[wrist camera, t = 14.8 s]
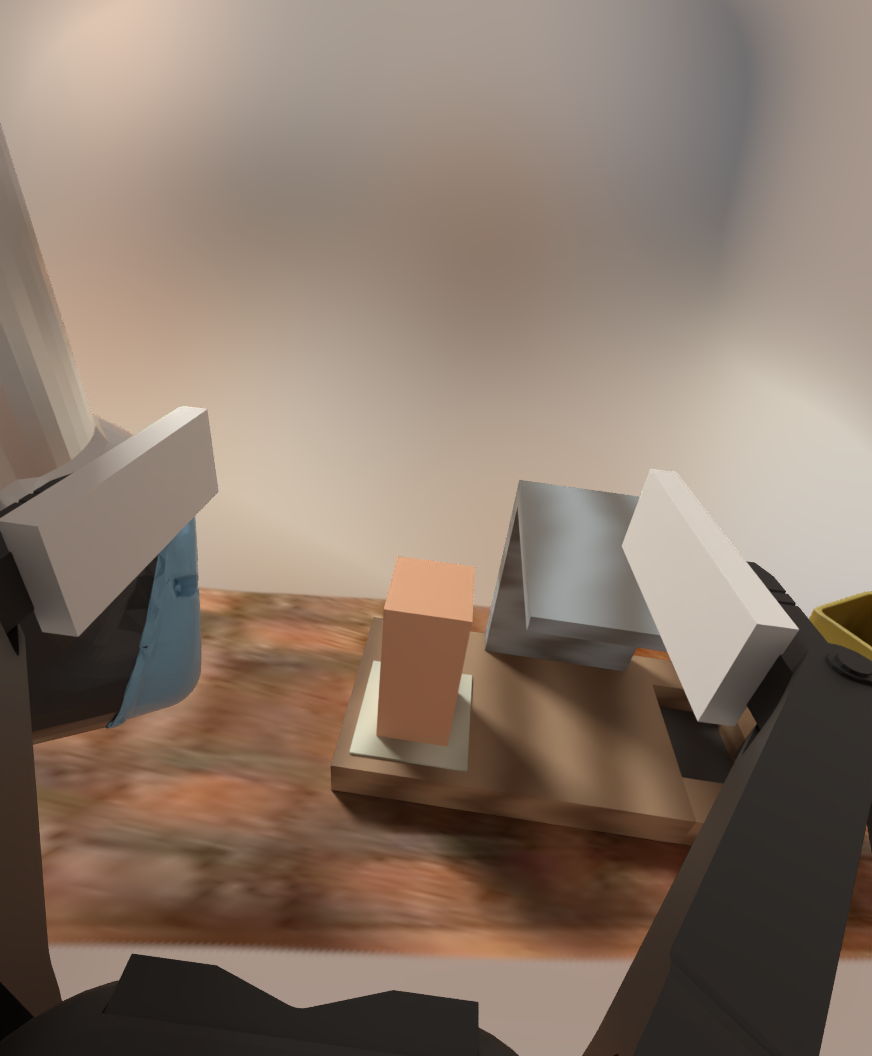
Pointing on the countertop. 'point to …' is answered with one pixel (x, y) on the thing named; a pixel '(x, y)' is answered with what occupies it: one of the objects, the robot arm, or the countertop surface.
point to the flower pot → (847, 623)
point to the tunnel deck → (556, 694)
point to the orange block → (423, 649)
